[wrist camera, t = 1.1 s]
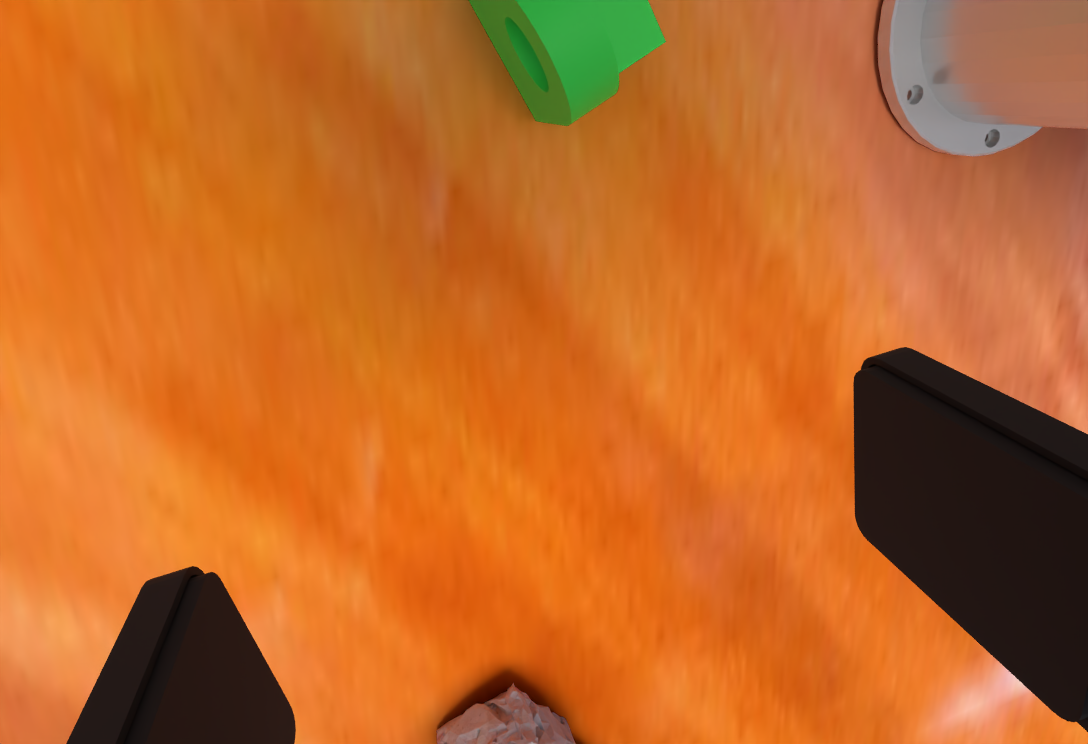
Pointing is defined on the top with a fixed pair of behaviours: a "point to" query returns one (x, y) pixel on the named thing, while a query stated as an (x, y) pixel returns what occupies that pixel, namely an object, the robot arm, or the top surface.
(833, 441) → the top surface
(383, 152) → the top surface
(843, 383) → the top surface
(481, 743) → the food item
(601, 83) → the mechanical part
